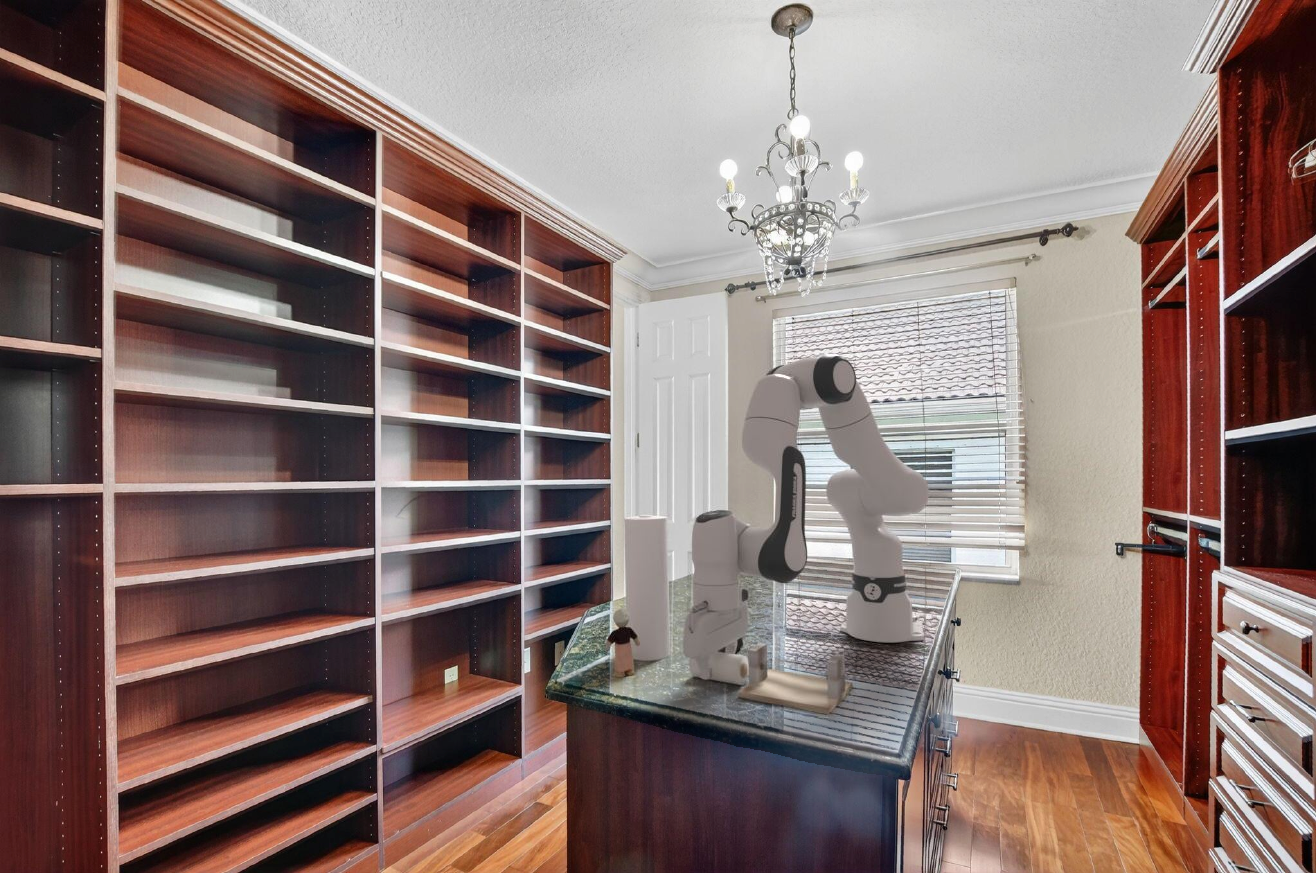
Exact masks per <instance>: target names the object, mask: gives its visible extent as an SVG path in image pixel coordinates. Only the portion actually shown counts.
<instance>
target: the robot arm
mask: <svg viewBox="0 0 1316 873" xmlns="http://www.w3.org/2000/svg"><path fill="white" fill-rule="evenodd" d="M751 394H752V395H751V397H750V400H749V404H748V406H747V410H746V413H745V419H744V425H743V429H742V434H741V447H742V450H743V451H744V452H743V453H744V454H745V455H746V457H747V458H748V459H749V460H750V461H751V462H752V463H753V464H755V465H756V466H757V467H760V468H762V469H764V470H765V471H767V472H769V473H770V474H771V476H772V477H773V479H774V481H775V504H774V506H775V508H774V521H773V524H772V525H771V526H770V527H767V526H766V527H765V526H759V525H758V526H757V525H750V524H749V523H746V522H744V521H743V520H740V519H738V517H736V516H735V515H734V513H733V512H732V511H730V510H726V509H725V510H724V509H718V510H709V511H706V512H703V513H701V514H699V515H698V516H697V517H695V519H694V523H693V525H692V526H693V527H692V533H691V534H692V535H691V561H692V564H693V569H694V570H693V576H692V607H691V608H690V611H689V613H688V614H687V616H686V617H685V621H684V628H683V641H682V644H683V647H682V650H683V654H684V656H685V658H686V659H689V660H690V659H696V662H697V664H698V666H699V669H700V677H701V678H700V679H702V680H710V679H709V678H711V677H712V668H710V666H709V663H708V661H709V660H710V655H711V654H713V653H714V652H716V651H718V650H720V649H722V648H723V647H725V646H726V649H725V653H730V654H736V653H737V652H736V648H737V640H738V639H739V638H741V637H742V638H743V637H745V636H746V635H747V633H748V629H749V605H748V601H749V599H750V590H749V589H748V588H746V587H743V586H741V585H740V579H739V574H743V575H748V576H750V577H751V576H753V577H758V578H763V579H766V580H769V581H773V582H775V583H778V584H788V583H792V581H794V580H795V579H796V578H798V577H799V576H800V575H801V573H802V572H803V571H804V569H805V567H806V566H807V562H808V546H807V539H806V494H807V493H806V491H807V490H806V489H807V488H806V487H807V485H806V483H807V482H806V481H807V472H806V471H807V470H806V460H805V457H804V455H803V453H802V452H801V450H799V448H798V440H797V439H798V437H797V436H798V432H799V431H798V430H799V425H800V423H799V422H800V415H801V412H800V411H805V410H812V409H815V408H818V412H819V416H820V419H821V421H822V424H823V427H824V430H825V433H826V435H827V437H828V440H829V442H830V446H831V448H832V450H833V454H834V455H835V456H836V458H837V459H839V460H840V461H841V462H843V463H845V464H846V465H848V466H850V469H845V470H841V471H838V472H835V473H834V474H832V475H831V476H830V478H829V479H828V481H827V484H826V489H825V490H826V497H827V501H828V503H829V505H830V506H831V507H832V508H833V509H834V510H835V511H837V512H838V514H839V515H840V516H841V518H842V520H843V522H844V524H845V525H846V528H847V531H848V533H849V537H850V542H851V548H852V562H853V572H852V573H851V588H852V589H853V590H852V592H851V593H849V595H847V596H846V604H845V605H846V608H845V610H846V613H845V614H846V615H845V616H846V617H845V623H844V624H841V625H840V627H839V630H840V631H841V632H843V633H845V634H846V633H847V634H848V635H849V636H850V637H854V638H855V639H859V640H862V641H863V640H864V641H869V642H876V643H904V642H910V641H911V642H913V641H914V642H915V641H924V640H925V638H924V637H925V636H924V629H923V622H922V621H921V620H918V619H917V616H916V615H915V616H913V602H912V600H911V597H909V594H908V593H907V589H908V588H907V587H908V586H907V580H906V574H905V572H904V562H903V561H904V559H903V558H904V557H903V544H902V541H901V539H900V537H898V535H896V533H893V532H892V530H890V529H889V528H888V526H887V525H886V523H885V521H884V517H883V516H889V517H903V516H909V515H914V514H915V515H916V514H919V513H921V512H922V511H923V510H924V508H925V507H926V506H927V503H928V501H929V497H930V488H929V484H928V482H927V480H926V478H925V477H924V476H923V475H922V474H921V473H920V472H918V471H917V470H915V469H913V468H911V467H909V466H908V465H907V464H905V463H904V462H903V461H902V460H901V459H900V458H899V457H898V456H897V455H895V453H894V452H893V451H892V450H891V448H890V447H889V446H888V445H887V443H886V442H885V440H884V438H883V436H882V434H881V431H880V428H879V427H878V425H877V422H876V419H875V417H874V413H873V411H872V409H871V406H870V404H869V401H868V399H867V397H866V395H865V393H864V391H863V390H862V387H861V385H860V383H859V382H858V380H857V375H856V370H855V368H854V366H853V364H852V363H851V362H850V361H849V360H848V359H847V358H846V357H845V356H843V355H841V354H835V353H834V354H831V353H830V354H829V353H827V354H824V355H819V356H818V355H817V356H811V357H804V358H801V359H798V360H795V361H792V362H790V363H787V364H780V365H778V366H776V367H774V368H772V369H771V370H769V371H768V372H767V373H766V375H764V376H763V377H761V378H760V379H759V380H758V381H757V383H756V384H755V386H754V390H753V392H752V393H751Z"/></svg>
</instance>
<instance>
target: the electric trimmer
mask: <svg viewBox="0 0 1316 873" xmlns="http://www.w3.org/2000/svg"><path fill="white" fill-rule="evenodd" d="M743 646H744V641H743V637H741V638H739V639H738V640H737V648H736V652H735V653H737V652H738V651H739V650H740V649H741V648H742V647H743ZM725 649H726V646H725V647H723V648H722V649H720V650H718V651H717V652H723V653H725Z"/></svg>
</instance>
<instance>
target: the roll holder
mask: <svg viewBox="0 0 1316 873" xmlns="http://www.w3.org/2000/svg"><path fill="white" fill-rule="evenodd" d="M767 646H768V644H766V643H761V642H759V643H757V644H756V645H754V646H752V647H751V648H749V649H748V650H747V659H748V666H749V673H748V684H746V685H745V686H743V687H742V688H740V690H737V691H738V693H737V694H738V695H737V696H738V698H741V699H748V700H751V701H756V702H761V703H768V704H772V703H773V704H772V705H777V706H782V705H783V706H784V707H788V708H792V707H795V708H794V709H798V708H799V709H798V710H803V709H806V710H805V711H808V712H813V711H814V712H813V713H818V712H820V713H819V714H824V715H830V714H831V713H832V711H834V709H835V708H836V707H837V706H838V705H839V704H840V703H841V702H842V701H843V699H845V697H846V696H847V695H848V694H849V693H850V692H851V691H852V690H853V688H854V687H853V686H854V684H853V682H852V681H847V680H846V671H845V670H846V668H845V667H846V666H845V654H838V653H835V654H834V655H832V656H831V657H830V658H829V659H828V660H826V677H821V676H816V675H810V674H803V673H798V672H792V671H786V670H780V669H778V670H777V669H774V668H773V669H772V668H768V652H767V650H768V647H767ZM850 690H851V691H850ZM849 691H850V692H849ZM846 694H847V695H846ZM840 701H841V702H840ZM838 703H839V704H838ZM830 712H831V713H830Z"/></svg>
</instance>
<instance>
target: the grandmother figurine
mask: <svg viewBox="0 0 1316 873" xmlns="http://www.w3.org/2000/svg"><path fill="white" fill-rule="evenodd" d="M629 618H630V615H629V614H628V612H627V610H626V608H625V609H624V608H619V609H618V610H616V611H615V612H614V613H613V616H612V619H613V622H614V623H615V626H617V627H618V628H617V629H614V630H612V631H611V632H610V634H609V635H608V637H607V640H606V643H605V646H604V650H605V651H606V652H608V651H610V650H611V647H612V645H613V644H614V672H613V674H612V675H615V676H618V677H617V678H619V677H622V678H625V677H626V676H633V675H636V673H635V669H634V659H633V655H632V649H631V643H630V638H631V639H633V640H634V642H635V645H636V646H639V645H640V641H639V639H638V637H637V634H636V633H635V632H634V631H633V629H632V628H630V627H627V624H628V621H629V620H630V619H629ZM615 676H614V677H615ZM624 676H625V677H624Z"/></svg>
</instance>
